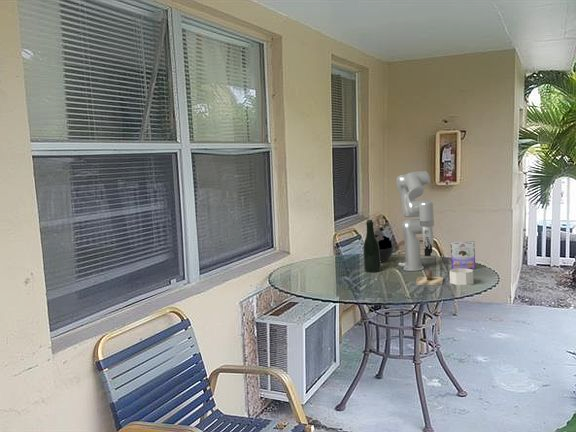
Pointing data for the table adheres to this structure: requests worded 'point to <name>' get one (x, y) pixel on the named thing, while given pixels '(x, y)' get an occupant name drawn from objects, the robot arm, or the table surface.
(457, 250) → the candy box
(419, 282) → the lid
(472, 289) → the table surface
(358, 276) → the table surface
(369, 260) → the beer bottle
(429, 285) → the mat
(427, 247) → the robot arm
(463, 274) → the bowl
